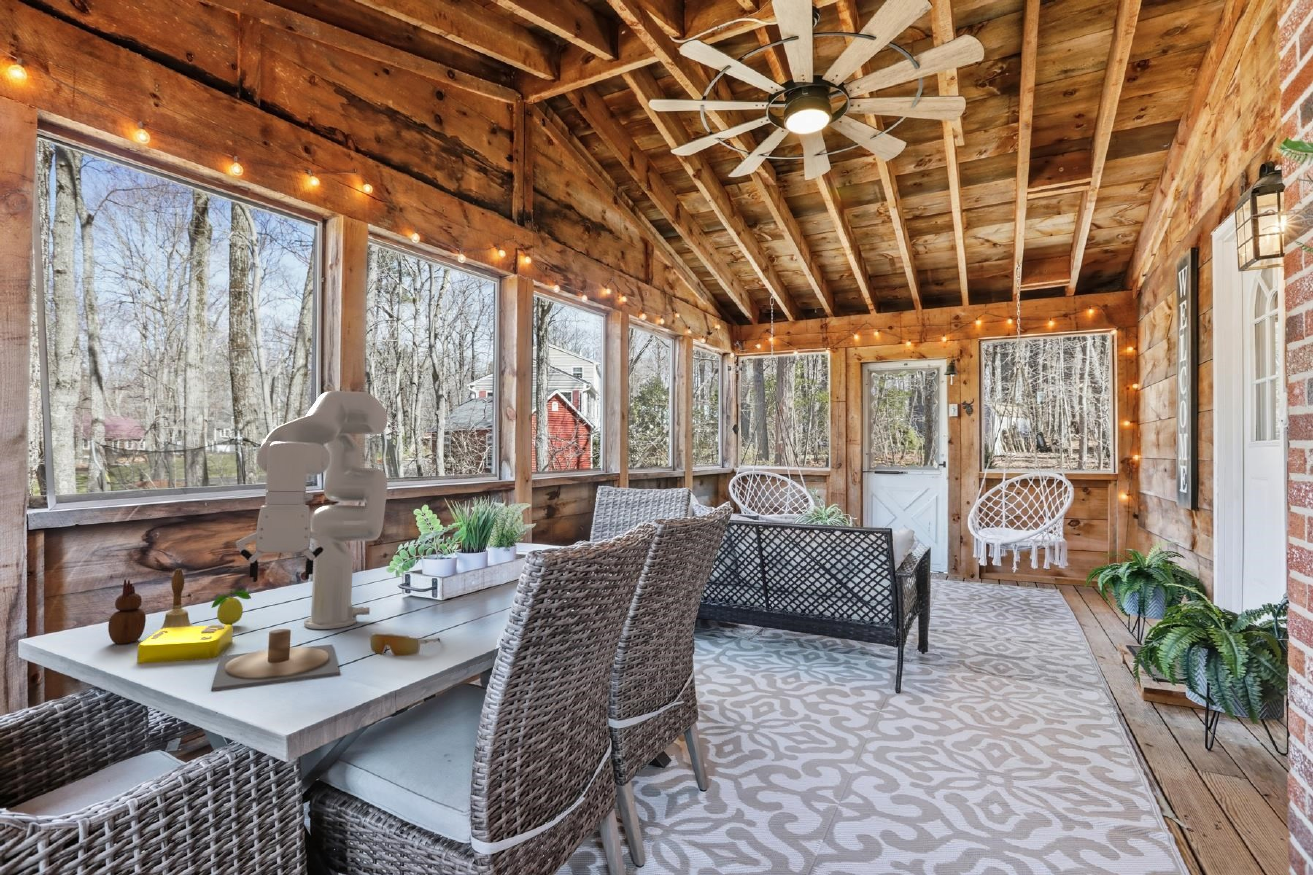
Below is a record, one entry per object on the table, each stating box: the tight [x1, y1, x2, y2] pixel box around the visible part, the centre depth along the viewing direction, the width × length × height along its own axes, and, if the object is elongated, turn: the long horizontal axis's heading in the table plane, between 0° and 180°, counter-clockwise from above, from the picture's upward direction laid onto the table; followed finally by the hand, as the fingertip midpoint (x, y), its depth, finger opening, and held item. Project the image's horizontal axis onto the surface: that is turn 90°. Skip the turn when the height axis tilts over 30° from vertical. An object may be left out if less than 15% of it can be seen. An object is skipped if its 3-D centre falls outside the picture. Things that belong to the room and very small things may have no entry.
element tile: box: [136, 624, 234, 664], centre depth 147 cm, size 15×15×5 cm
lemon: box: [211, 587, 252, 626], centre depth 169 cm, size 7×6×10 cm
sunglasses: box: [369, 632, 441, 657], centre depth 156 cm, size 14×15×5 cm
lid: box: [225, 628, 328, 678], centre depth 139 cm, size 19×19×7 cm
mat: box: [210, 643, 341, 692], centre depth 139 cm, size 22×22×1 cm
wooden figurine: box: [107, 578, 147, 645], centre depth 153 cm, size 7×6×15 cm
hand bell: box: [160, 568, 193, 629], centre depth 161 cm, size 8×8×16 cm
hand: (281, 579), depth 139 cm, fingers open, 9 cm apart
